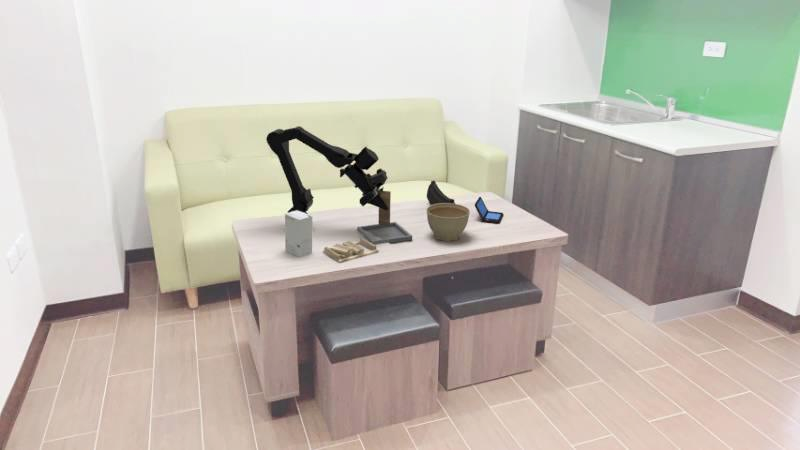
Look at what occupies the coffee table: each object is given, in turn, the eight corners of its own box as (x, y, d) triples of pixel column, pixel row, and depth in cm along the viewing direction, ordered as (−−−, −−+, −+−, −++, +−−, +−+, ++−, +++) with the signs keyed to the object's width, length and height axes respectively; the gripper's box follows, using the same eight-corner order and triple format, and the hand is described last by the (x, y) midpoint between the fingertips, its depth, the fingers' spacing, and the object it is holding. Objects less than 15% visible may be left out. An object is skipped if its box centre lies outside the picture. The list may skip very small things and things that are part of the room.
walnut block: (388, 226, 218) (389, 193, 214) (378, 225, 219) (378, 192, 215) (390, 224, 220) (390, 191, 216) (379, 223, 221) (380, 190, 216)
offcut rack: (339, 265, 196) (339, 257, 195) (323, 254, 204) (322, 246, 203) (378, 254, 205) (378, 246, 204) (361, 244, 213) (361, 236, 212)
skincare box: (285, 253, 205) (282, 213, 199) (298, 248, 209) (296, 209, 204) (300, 260, 200) (299, 219, 194) (314, 254, 204) (312, 214, 199)
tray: (372, 246, 212) (372, 241, 211) (357, 231, 225) (357, 226, 225) (412, 240, 218) (412, 235, 217) (395, 226, 231) (395, 221, 231)
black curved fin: (460, 206, 228) (437, 166, 251) (452, 207, 227) (430, 166, 250) (453, 240, 238) (432, 198, 261) (446, 241, 238) (425, 199, 260)
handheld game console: (499, 225, 236) (500, 207, 233) (472, 221, 239) (474, 204, 236) (503, 215, 247) (505, 198, 244) (478, 212, 250) (479, 195, 247)
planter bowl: (416, 236, 221) (417, 209, 218) (443, 226, 233) (444, 200, 229) (450, 248, 211) (451, 220, 207) (476, 237, 222) (478, 210, 219)
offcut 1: (346, 255, 199) (346, 251, 198) (330, 251, 202) (329, 247, 201) (353, 251, 202) (353, 247, 201) (337, 247, 205) (337, 243, 205)
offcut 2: (344, 260, 199) (344, 256, 198) (329, 254, 203) (329, 250, 202) (352, 256, 202) (352, 252, 201) (338, 251, 206) (338, 247, 205)
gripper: (368, 170, 204) (398, 203, 206) (380, 157, 221) (407, 187, 223) (346, 190, 208) (376, 222, 210) (359, 176, 225) (387, 205, 227)
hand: (388, 208), depth 217 cm, fingers closed on walnut block, 2 cm apart
